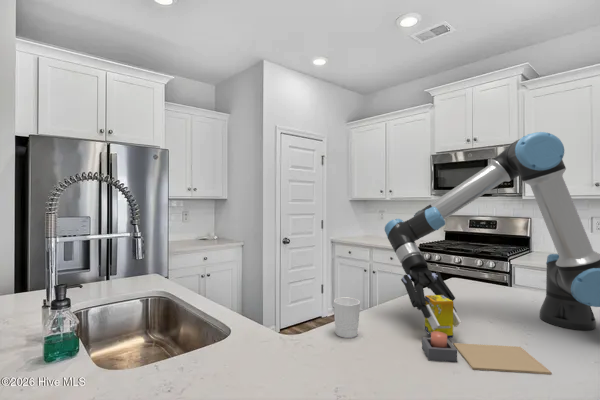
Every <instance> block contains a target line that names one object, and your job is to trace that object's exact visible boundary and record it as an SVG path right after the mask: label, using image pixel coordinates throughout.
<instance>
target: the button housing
mask: <svg viewBox="0 0 600 400" xmlns="http://www.w3.org/2000/svg"><path fill="white" fill-rule="evenodd" d="M421 350H422V352H423V353H424V354H425V357H426V358H427V360H428V361H436V362H450V363H457V362H458V350H457V349H456V348H455V347H454V345H453V343H452V341H451V340H450V338H447V348H436V347H431V337H421Z"/></svg>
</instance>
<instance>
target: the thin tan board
mask: <svg viewBox="0 0 600 400" xmlns="http://www.w3.org/2000/svg"><path fill="white" fill-rule="evenodd" d="M452 344H453V346H454V347H455V348H456V349H457V353H458V354H460V355H461V357H462V358H463V359H464V361H465V362H466V363H467V364H468V365H469V367H470V368H471V369H472V370H475V371H487V372H489V371H491V372H492V371H493V372H507V373H523V374H538V375H539V374H540V375H552V371H551V370H549V368H547V367H546V366H544V365H543V364H542V363H541V362H539V360H537V359H536V358H535V357H533V355H531V354H530V353H529V352H528V351H526V350H525V349H523V348H522V347H521V346H514V345H498V344H497V345H494V344H479V343H478V344H475V343H462V342H461V343H460V342H459V343H458V342H453V343H452Z"/></svg>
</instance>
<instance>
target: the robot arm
mask: <svg viewBox="0 0 600 400" xmlns="http://www.w3.org/2000/svg"><path fill="white" fill-rule="evenodd" d="M564 156H565V147H564V144H563V142H562V140H561V139H560V138H559V137H558V136H556V135H555V134H552V133H550V132H545V131H537V132H533V133H528V134H527V135H524V136H523V137H521V138H519V139H516V140H515V141H513V142H511V144H510V145H509V146H508V147H506V148H505V149H504V150H503V151H502V152H500V153H499V154H498V155H497V156H495V157H493V158H492V159H490V164H488V165H487V166H485V167H484V168H482V169H480V170H479V171H478V172H476V173H475V174H473V175H472V176H470V177H469V178H467V179H465V180H464V181H462V183H460V184H459V185H457V186H455V187H454V188H452V189H450V190H449V191H448V192H445V194H443V195H442V196H440V197H438V198H437V199H436V200H435V201H432V202H431V203H430V204H428V205H426V206H425V207H424V208H422V209H420V210H418V211H417V212H415V213H414V215H413V217H411V218H409V219H407V220H405V221H403V219H401V218H396V219H395V218H394V219H391V220H389V221H388V222H387V223H386V224H385V226H384V232H385V235H386V237H387V239H388V241H389V243H390V245H391V247H392V249H393V251H394V253H395V255H396V257H397V259H398V260H399V262H400V264H401V267H402V269H403V271H404V273H405V274H404V275H403V276H402V277H401V279H400V280H401V282H402V284H403V285H404V286H405V290H406V292H407V295H408V298H409V300H410V303H411V305H412V307H413V308H416V309H417V310H418V311H421V312H422V315H423V317H424V319H425V318H427V319H428V321H429V323H430V325H431V327H432V329H433V330H436V329H437V328H438V327H439V326H440V325H439V323H438V321H437V319H436V317H435V315H434V313H433V311H432V309H431V307H430V306H429V305H426V301H425V296H426V295H425V291H424V290H425V289H424V287H426V288H427V289H429V290H431V292H432V293H433V294H434V295H444V296H445V297H447V298H448V299H450V300H452V301H453V302H454V301H455V300H456V296H455V295H454V294H453V292H452V291H451V289H450V288H449V286H448V285H447V283H446V282H445V281H444V279H443V277H442V275H441V272H439V271H437V272H436V273H435V272H432V271H431V270H430V269H429V267H428V262H427V260H426V259H425V257H424V256H423V254H422V252H421V250H420V249H419V246H418V245H417V243H416V241H418V240H420V239H422V238H423V237H425V236H427V235H430V234H432V233H434V232H436V231H439V229H442V228H443V227H444V226H445V225H446V220H445V219H447V218H448V217H451V216H452V215H453V214H455V213H457V212H458V211H460V210H461V209H463V208H464V207H466V206H468V205H469V204H471V203H472V202H474V201H475V200H477V199H479V198H480V197H482V196H483V195H485V194H487V193H488V192H490V191H491V190H493V189H494V188H496V187H498V186H499V185H501V184H503V183H504V182H510V181H512V180H514V179H516V178H518V177H520V179H521V182H522V183H525V184H526V185H529V186H530V188H531V190H532V193H533V196H534V199H535V201H536V204H537V205H538V208H539V210H540V213H541V216H542V218H543V221H544V224H545V225H546V227H547V230H548V232H549V235H550V238H551V241H552V243H553V245H554V248H555V251H556V252H557V253H550V254H548V255H547V257H546V262H545V264H546V277H545V278H546V279H545V281H546V283H545V288H546V289H545V297H544V300H543V303H542V305H541V307H540V309H539V319H540V320H542V321H543V322H545V323H547V324H550V325H554V326H557V327H561V328H565V329H570V330H579V331H591V330H595V329H596V328H597V327H596V326H597V323H596V322H597V321H596V318H595V315H594V312H593V309H592V307H594V308H600V253H598V252H597V251H595V250H594V249H593V246H592V243H591V242H590V240H589V237H588V234H587V232H586V230H585V227H584V225H583V222H582V221H581V217H580V215H579V212H578V210H577V208H576V206H575V203H574V201H573V198H572V196H571V194H570V193H571V192H570V191H569V188H568V186H567V184H566V181H565V179H564V176H563V175H564V173H565V171H566V170H567V167H566V165H565V163H564V160H563V159H564ZM461 323H462V321H461V319H460V318H459V315H458V314H457V309H456V308H455V306H454V305H453V328H455V327H458V326H459V325H460V324H461Z"/></svg>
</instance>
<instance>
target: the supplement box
mask: <svg viewBox="0 0 600 400" xmlns="http://www.w3.org/2000/svg"><path fill="white" fill-rule="evenodd" d="M424 296H425V301H426V305H429V306H430V307H431V309H432V311H433V313H434V315H435V317H436V319H437V321H438V323H439V325H440V326H439V327H438V328H437V329H436V330H433V329H432V327H431V325H430V323H429V321H428V319H427V318H425V317H424V331H425V332H426V333H427V334H428V335H430V336H431V332H434V331H438V332H443V333H445V334H447V339H453V338H454V325H453V306H454V300H453V301H452V300H450V299H448V298H447V297H445V296H444V295H435V294H434V295H433V294H431V295H429V294H428V295H424Z"/></svg>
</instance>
